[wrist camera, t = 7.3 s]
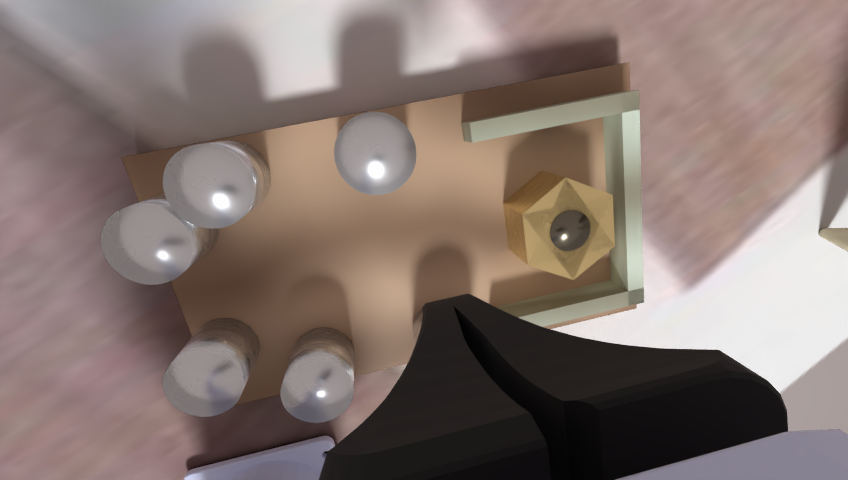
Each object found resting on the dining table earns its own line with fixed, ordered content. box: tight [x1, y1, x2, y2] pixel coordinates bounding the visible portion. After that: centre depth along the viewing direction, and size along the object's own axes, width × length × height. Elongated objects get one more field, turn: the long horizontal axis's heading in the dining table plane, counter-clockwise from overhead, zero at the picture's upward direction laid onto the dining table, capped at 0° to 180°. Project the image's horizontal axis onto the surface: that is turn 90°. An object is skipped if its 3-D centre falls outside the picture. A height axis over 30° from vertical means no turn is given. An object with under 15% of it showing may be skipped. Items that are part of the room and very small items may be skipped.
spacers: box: [101, 112, 442, 423], centre depth 18 cm, size 12×13×3 cm
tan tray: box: [121, 62, 644, 405], centre depth 19 cm, size 12×22×3 cm, turn 100°
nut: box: [503, 171, 615, 280], centre depth 19 cm, size 4×5×3 cm
